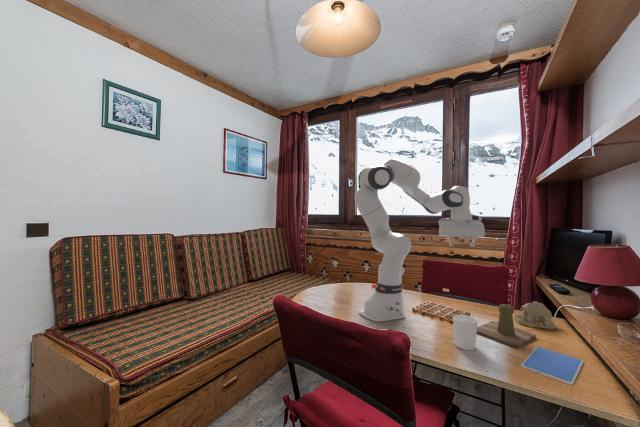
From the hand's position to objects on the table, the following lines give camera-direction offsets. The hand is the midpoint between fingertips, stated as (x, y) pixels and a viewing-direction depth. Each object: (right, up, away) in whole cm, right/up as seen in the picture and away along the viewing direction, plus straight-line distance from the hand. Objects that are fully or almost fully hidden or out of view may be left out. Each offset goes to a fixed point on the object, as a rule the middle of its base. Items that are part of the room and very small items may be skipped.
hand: (461, 245), depth 137 cm
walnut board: (+4, -33, -25) cm, 41 cm away
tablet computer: (+6, -34, -47) cm, 58 cm away
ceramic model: (+25, -33, -14) cm, 44 cm away
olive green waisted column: (+4, -32, -26) cm, 41 cm away
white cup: (-16, -33, -34) cm, 50 cm away
